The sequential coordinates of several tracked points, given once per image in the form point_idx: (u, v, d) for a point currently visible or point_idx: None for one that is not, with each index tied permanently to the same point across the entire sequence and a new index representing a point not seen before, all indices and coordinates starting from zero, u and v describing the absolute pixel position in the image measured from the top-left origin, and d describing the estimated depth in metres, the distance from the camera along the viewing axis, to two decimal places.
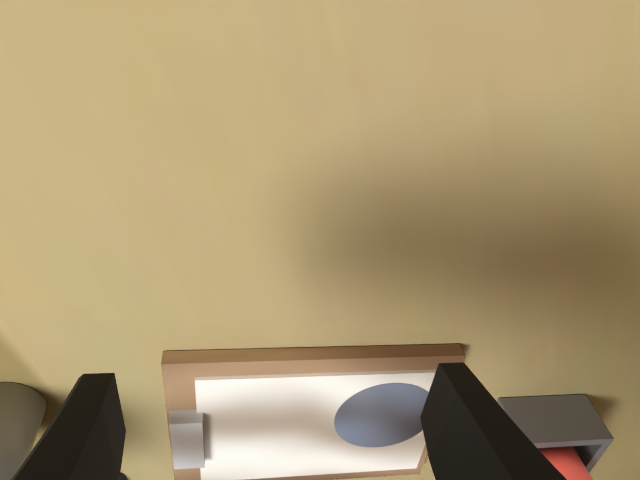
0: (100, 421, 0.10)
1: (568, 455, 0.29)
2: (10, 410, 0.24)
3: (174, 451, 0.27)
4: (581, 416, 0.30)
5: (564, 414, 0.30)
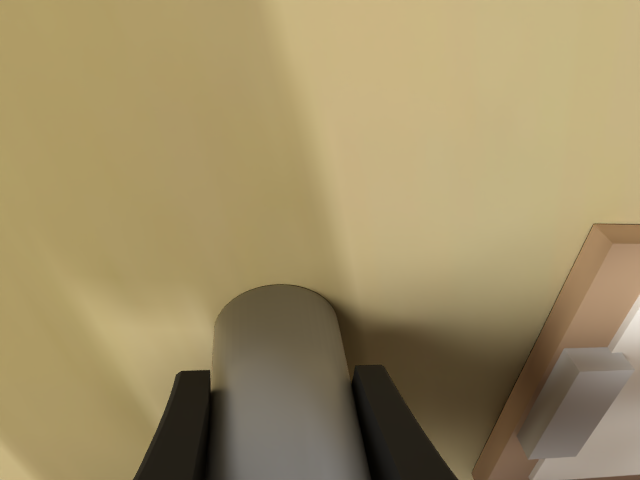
0: (206, 416, 0.10)
1: None
2: (318, 334, 0.11)
3: (551, 425, 0.15)
4: None
5: None
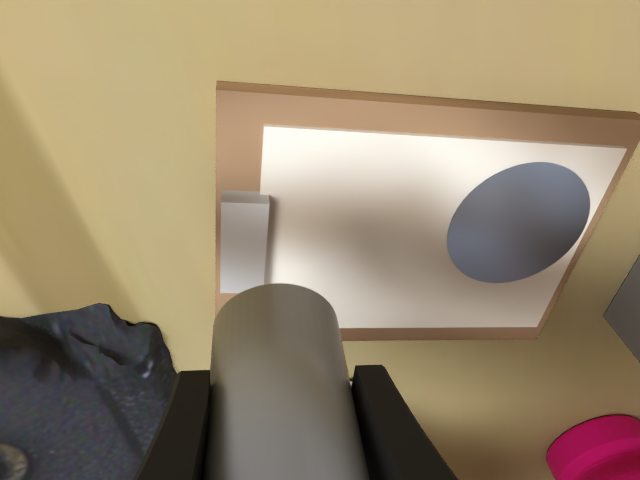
0: (206, 416, 0.10)
1: None
2: (317, 333, 0.11)
3: (224, 257, 0.18)
4: None
5: None
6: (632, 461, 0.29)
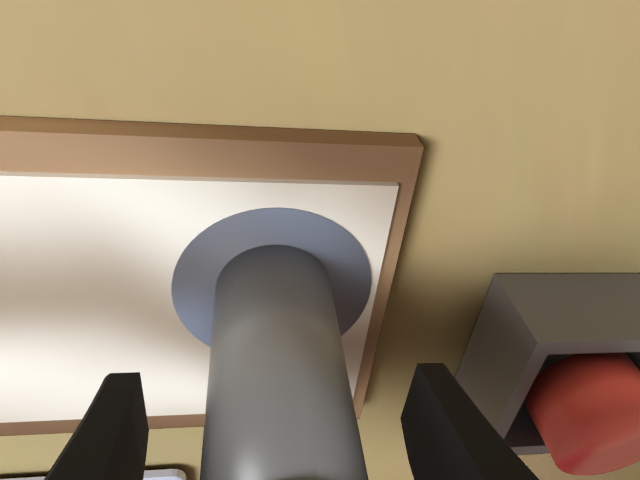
0: (129, 420, 0.10)
1: (626, 370, 0.15)
2: (310, 287, 0.13)
3: None
4: None
5: (615, 300, 0.16)
6: None
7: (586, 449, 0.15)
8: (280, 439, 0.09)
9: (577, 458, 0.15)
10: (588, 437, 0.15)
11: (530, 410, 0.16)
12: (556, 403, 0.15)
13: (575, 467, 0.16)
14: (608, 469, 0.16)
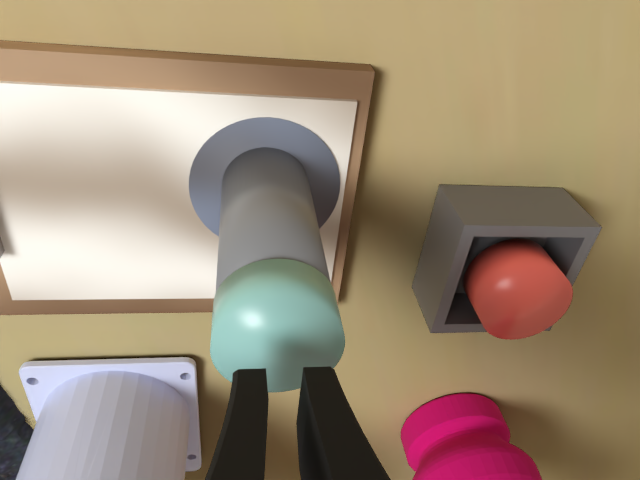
0: None
1: (535, 251, 0.20)
2: (292, 172, 0.17)
3: None
4: (555, 205, 0.21)
5: (531, 202, 0.21)
6: (467, 439, 0.28)
7: (505, 312, 0.20)
8: (269, 242, 0.14)
9: (499, 321, 0.20)
10: (505, 300, 0.19)
11: (466, 290, 0.21)
12: (482, 277, 0.20)
13: (499, 330, 0.20)
14: (526, 334, 0.21)
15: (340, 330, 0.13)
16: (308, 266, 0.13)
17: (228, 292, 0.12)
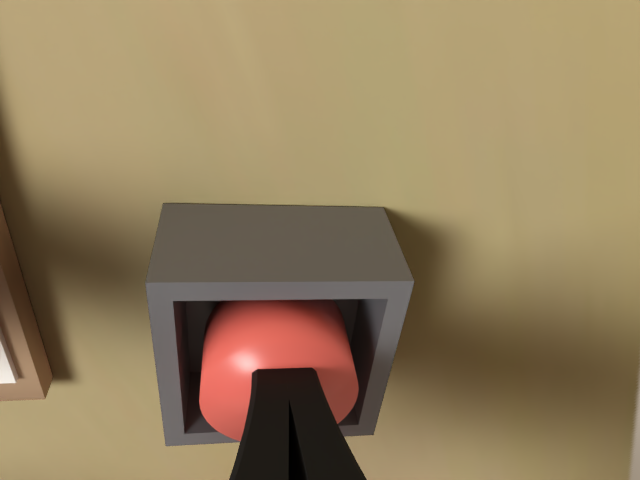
0: (288, 413, 0.10)
1: (295, 305, 0.12)
2: None
3: None
4: (351, 240, 0.12)
5: (309, 235, 0.12)
6: None
7: (246, 408, 0.12)
8: None
9: (241, 421, 0.12)
10: (237, 391, 0.11)
11: None
12: (207, 349, 0.12)
13: None
14: None
15: None
16: None
17: None
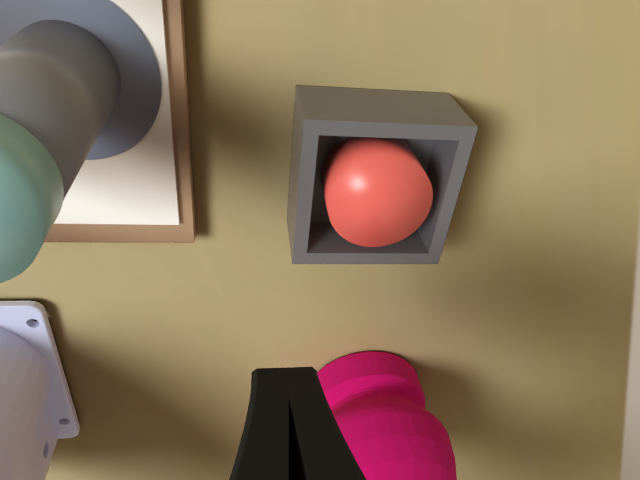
0: (288, 413, 0.10)
1: (390, 141, 0.17)
2: (70, 42, 0.14)
3: None
4: (430, 107, 0.17)
5: (401, 103, 0.17)
6: (367, 399, 0.24)
7: (357, 211, 0.17)
8: None
9: (352, 223, 0.18)
10: (353, 195, 0.17)
11: (323, 193, 0.19)
12: (331, 171, 0.17)
13: (354, 234, 0.18)
14: (388, 240, 0.18)
15: (21, 192, 0.09)
16: (0, 115, 0.10)
17: None
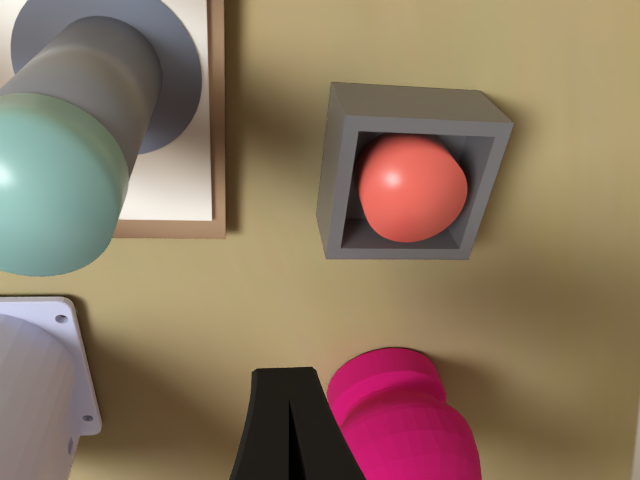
0: (288, 413, 0.10)
1: (426, 138, 0.18)
2: (120, 38, 0.14)
3: None
4: (465, 104, 0.18)
5: (436, 100, 0.18)
6: (391, 395, 0.25)
7: (392, 207, 0.18)
8: (32, 81, 0.10)
9: (387, 218, 0.18)
10: (390, 191, 0.17)
11: (356, 188, 0.19)
12: (366, 167, 0.18)
13: (389, 230, 0.18)
14: (421, 236, 0.19)
15: (100, 181, 0.09)
16: (74, 107, 0.10)
17: None
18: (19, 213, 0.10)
